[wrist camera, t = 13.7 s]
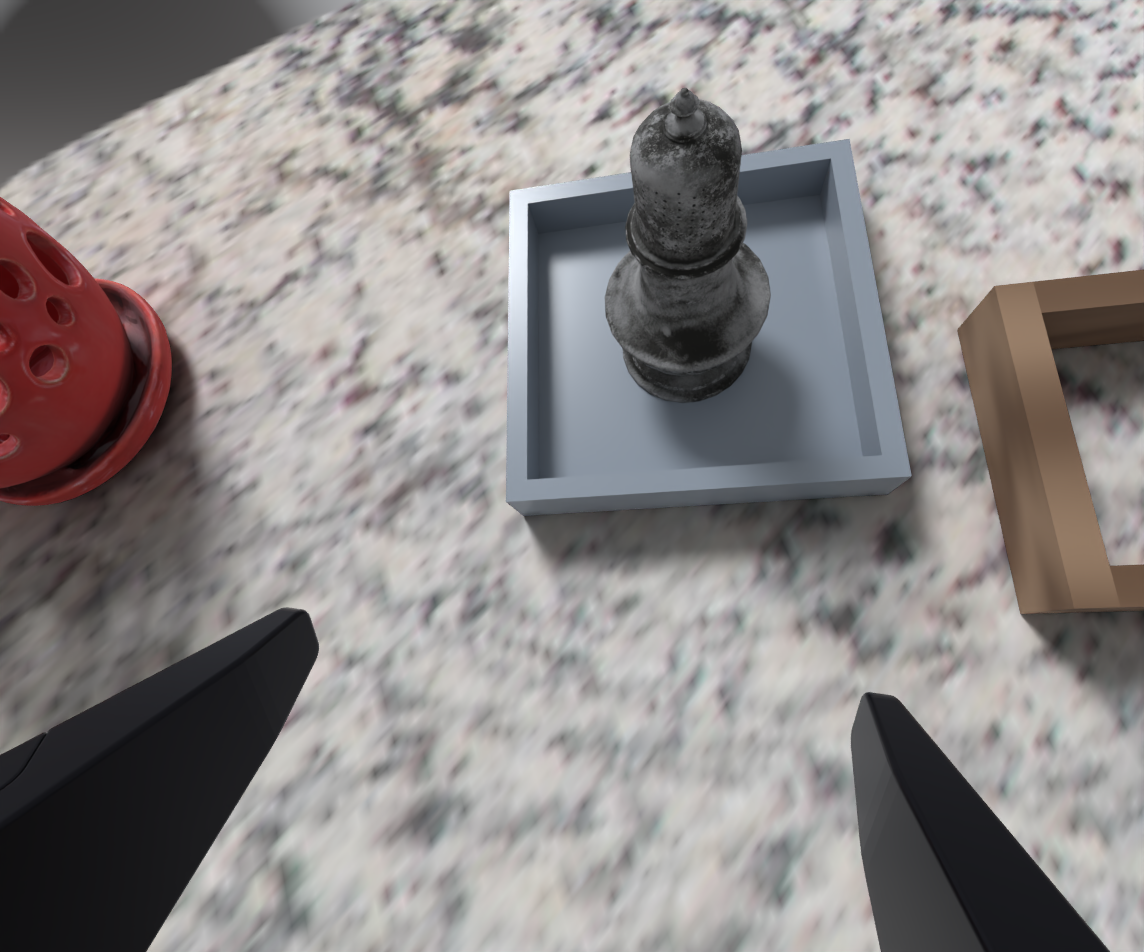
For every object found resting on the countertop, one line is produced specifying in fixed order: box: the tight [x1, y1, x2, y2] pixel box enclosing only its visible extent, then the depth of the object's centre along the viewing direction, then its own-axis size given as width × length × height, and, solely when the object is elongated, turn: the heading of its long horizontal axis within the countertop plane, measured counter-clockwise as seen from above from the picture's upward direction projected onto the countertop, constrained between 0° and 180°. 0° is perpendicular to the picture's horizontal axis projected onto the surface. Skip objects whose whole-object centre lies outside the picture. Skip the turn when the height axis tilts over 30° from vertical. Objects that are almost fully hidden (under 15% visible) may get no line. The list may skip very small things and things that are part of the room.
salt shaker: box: [605, 88, 771, 403], centre depth 19 cm, size 6×6×12 cm
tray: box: [506, 139, 911, 516], centre depth 24 cm, size 14×14×2 cm
